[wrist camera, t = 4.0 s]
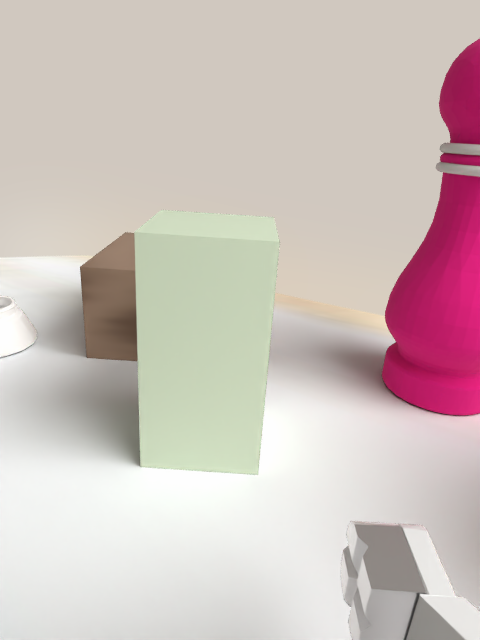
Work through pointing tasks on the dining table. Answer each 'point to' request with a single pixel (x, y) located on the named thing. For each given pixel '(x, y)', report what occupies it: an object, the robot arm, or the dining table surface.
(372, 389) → the dining table surface
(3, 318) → the white hollow cone
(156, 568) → the dining table surface
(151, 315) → the sage block
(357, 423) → the dining table surface
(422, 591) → the robot arm
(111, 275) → the walnut block
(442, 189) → the pepper mill
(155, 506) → the dining table surface
